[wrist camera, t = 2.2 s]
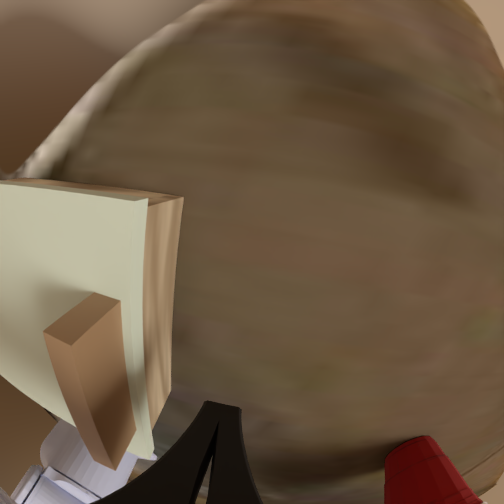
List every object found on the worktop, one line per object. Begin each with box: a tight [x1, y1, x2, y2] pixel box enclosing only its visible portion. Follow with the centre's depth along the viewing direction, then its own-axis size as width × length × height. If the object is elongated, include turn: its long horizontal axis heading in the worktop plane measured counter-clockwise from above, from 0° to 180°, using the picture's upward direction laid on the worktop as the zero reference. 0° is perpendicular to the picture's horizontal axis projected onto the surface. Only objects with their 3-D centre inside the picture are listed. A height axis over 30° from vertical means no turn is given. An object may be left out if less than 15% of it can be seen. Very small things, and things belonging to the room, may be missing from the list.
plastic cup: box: [384, 436, 487, 504], centre depth 13 cm, size 11×11×12 cm
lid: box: [0, 180, 154, 471], centre depth 9 cm, size 15×15×4 cm
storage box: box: [4, 178, 184, 431], centre depth 14 cm, size 14×14×5 cm
